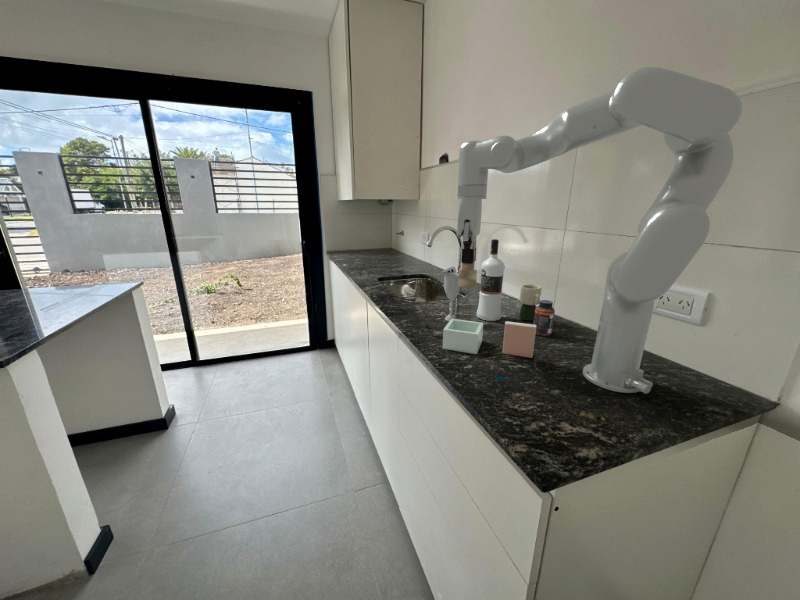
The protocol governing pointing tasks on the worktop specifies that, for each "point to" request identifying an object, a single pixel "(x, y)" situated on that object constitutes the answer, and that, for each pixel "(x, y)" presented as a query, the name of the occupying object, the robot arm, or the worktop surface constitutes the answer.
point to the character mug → (529, 301)
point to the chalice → (451, 291)
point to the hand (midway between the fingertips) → (468, 261)
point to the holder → (463, 336)
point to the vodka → (491, 286)
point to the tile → (519, 339)
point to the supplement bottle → (544, 318)
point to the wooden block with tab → (468, 273)
